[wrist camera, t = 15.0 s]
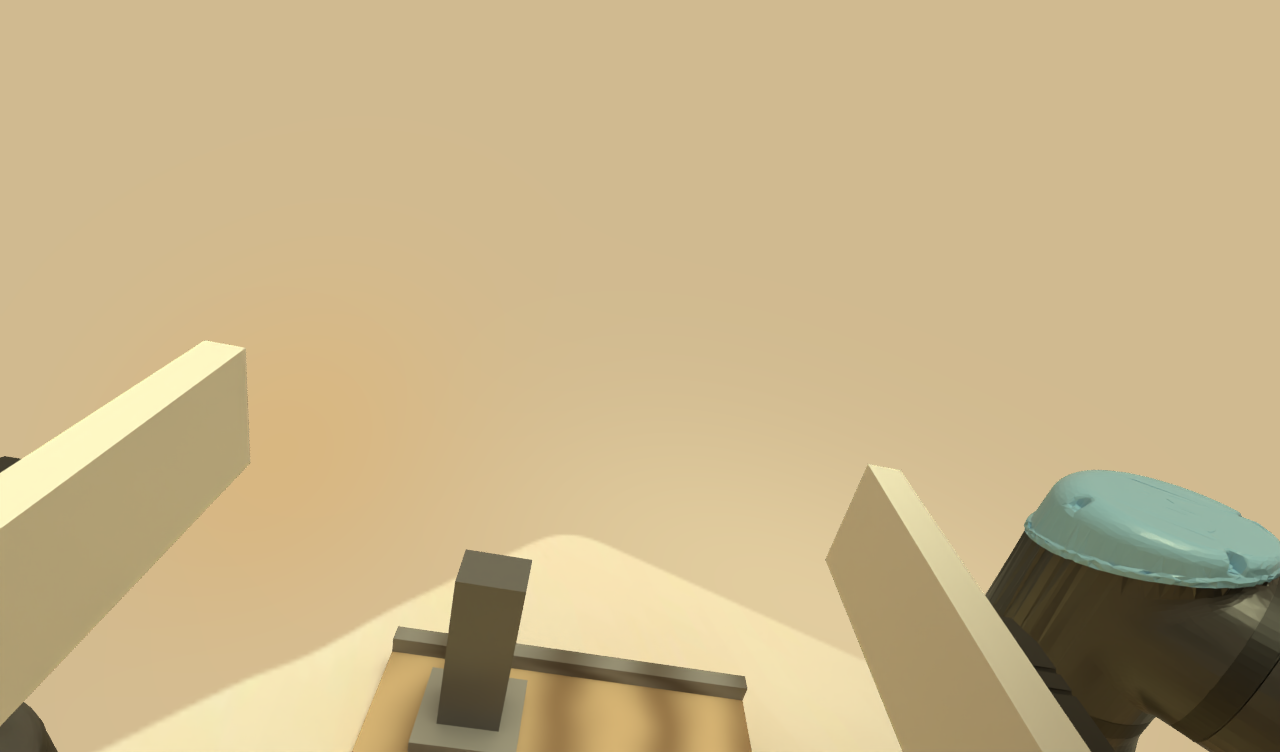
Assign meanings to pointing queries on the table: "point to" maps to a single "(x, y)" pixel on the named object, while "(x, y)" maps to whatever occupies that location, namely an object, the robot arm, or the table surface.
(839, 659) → the table surface
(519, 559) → the fader tab
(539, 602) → the table surface
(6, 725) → the coffee jar
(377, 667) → the table surface
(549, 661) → the fader console
